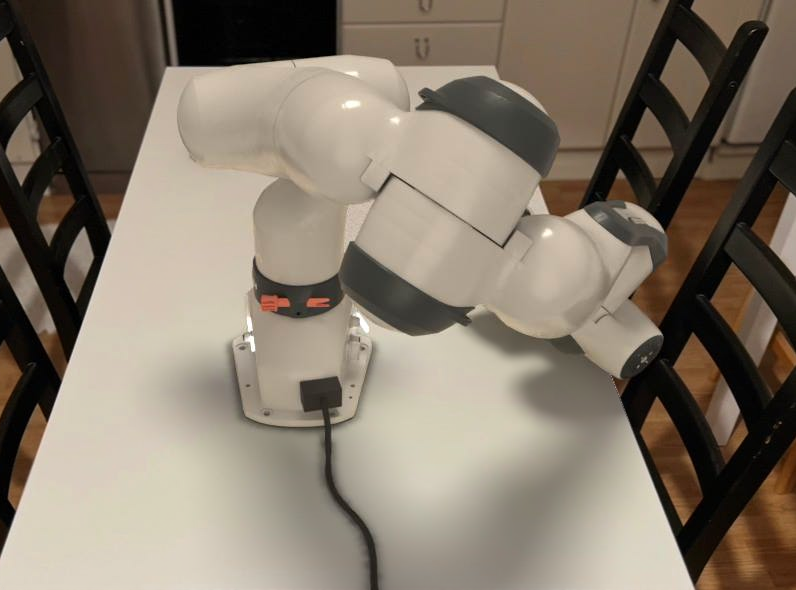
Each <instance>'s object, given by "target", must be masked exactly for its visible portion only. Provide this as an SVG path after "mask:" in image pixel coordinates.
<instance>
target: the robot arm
mask: <svg viewBox="0 0 796 590" xmlns="http://www.w3.org/2000/svg"><path fill="white" fill-rule="evenodd" d="M417 95H418V96H419V98H420V99H421V100H422V101H423V102H422V103H420V104H419V105H417V106H415V107H414V110H411V97H410V91H409V88H408V84H407V82H406V80H405V78H404V76H403V75H402V73H401V71H400V70H399V69H398V68H397V67H396V65H395V64H394V63H393V62H392V61H390V60H389V59H387V58H381V57H374V56H365V55H356V54H355V55H353V54H340V55H339V54H338V55H329V56H319V57H318V56H317V57H309V58H297V59H287V60H276V61H266V62H256V63H246V64H235V65H230V66H227V67H224V68H223V67H222V68H219V69H216V70H212V71H209V72H206V73H203V74H200V75H197V76H194V77H191V79H190V80H189V81H188V82H187V84H186V85H185V87H184V88H183V91H182V93H181V94H180V98H179V102H178V104H177V105H178V106H177V111H176V112H177V113H176V116H177V117H176V121H177V128H178V134H179V136H180V139H181V142H182V144H183V146H184V148H185V149H186V151H187V153H188V154H189V155H190V156H191V158H192V159H193V160H194V161H196V162H197V164H199V165H200V166H201V167H203V168H205V169H214V170H225V171H236V172H237V171H238V172H245V173H246V172H247V173H252V174H257V175H262V176H266V177H270V178H271V177H272V178H276V180H274V181H273V182H271V183H270V184H268V185H267V186H265V188H264V189H263V190H262V192H261V193H260V194H259V196H258V198H257V200H256V202H255V204H254V207H253V210H252V229H253V242H254V243H253V245H254V256H253V257H252V258H253V259H252V267H251V279H252V285H253V286H252V287H251V289H249V290H248V291H247V292H246V293H245V294H244V308H245V322H246V331H245V332H243V334H241V335H238V336H237V337H235V338H234V339H233V340H232V353H233V360H234V365H235V370H236V371H235V372H236V375H237V376H236V377H237V382H238V388H239V394H240V398H241V405H242V410H243V414H244V416H245V417H246V418H248V419H250V420H252V421H255V422H257V423H260V424H265V425H268V426H269V425H270V426H276V427H285V428H286V427H291V428H309V427H311V428H313V427H322V426H324V452H325V464H324V473H325V479H326V483H327V486H328V489H329V491H330V493H331V495H332V497H333V499H334V500H335V502H336V503H337V505H338V506H339V507H340V508H341V509H342V510H343V511H344V513H346V514H347V515H348V516H349V517H350V518H351V519H352V521H353V522H355V524H356V525H357V526H358V528H359V529H360V531H361V532H362V534H363V537H364V539H365V542H366V545H367V550H368V555H369V575H370V576H369V578H370V579H369V580H370V590H379V579H378V578H379V577H378V556H377V549H376V546H375V541H374V539H373V537H372V534H371V531H370V530H369V528H368V526H367V524H366V523H365V522H364V520H363V519H362V517H361V516H360V515H359V514H358V513H357V512H356V511H355V510H354V509H353V508H352V507H351V506H350V505H349V504H348V503H347V502H346V501H345V499H344V498H343V497H342V496H341V494H340V492H339V491H338V489H337V487H336V484H335V481H334V477H333V471H332V452H333V451H332V447H333V446H332V425H334V424H335V425H336V424H338V423H341V422H344V421H347V420H349V419H351V418H353V417H354V416H355V415H356V412H357V408H358V404H359V400H360V396H361V392H362V389H363V387H364V385H363V384H364V381H365V378H366V374H367V371H368V366H369V362H370V359H371V355H372V352H373V342H372V340H371V338H369V337H368V336H366V335H364V334H361V333H359V328H360V325H361V327H362V328H363V330H364V331H365V333H368V332H369V326H368V324H367V323H366V321H365V320H364V319H363V317H362V316H364V318H366V319H367V320H368V321H370V322H371V323H373V324H374V325H376V326H378V327H379V328H382V329H384V330H387V331H390V332H394V333H399V334H405V335H407V336H410V337H421V336H428V335H434V334H439V333H441V332H443V331H445V330H447V329H449V328H451V327H452V326H454V325H456V324H459V325H461V326H463V327H466V328H467V327H468V326H470V325H471V324H473V320H472V319H471V318H470V317H469V316H468V314H469V313H470V312H472V311H473V310H474V311H475V310H476V307H477V306H480V305H482V306H483V307H484V308H486V310H488V311H490V312H492V313H494V314H495V316H496V317H498V319H499V320H500V321H502V322H503V324H504V325H505V326H507V327H508V328H511V329H512V330H514V331H516V332H519V333H521V334H524V335H526V336H529V337H533V338H538V339H546V340H548V342H549V343H550V344H551V345H552V346H553V347H554V349H555V350H557V351H558V352H559V353H561V354H564V355H571V356H585V357H586V358H587V359H588V360H590V361H591V363H594V364H595V365H596V366H598V367H599V368H600V369H602V370H603V371H605V372H607V373H608V374H609V375H611V376H613V377H615V378H616V379H618V380H621V381H623V380H625V381H626V380H628V379H631V378H634V377H635V376H637V375H638V374H640V373H642V372H643V371H644V370H645V369H646V368H647V367H648V366H649V365H650V364H651V363H652V362H653V360H654V359H655V358H656V357H657V356H658V354H659V352H660V351H661V349H662V346H663V343H664V335H663V333H662V331H661V330H660V329H659V328H658V326H657V325H656V324H655V323H654V322H653V320H651V318H650V317H649V316H648V315H647V314H646V313H645V312H644V311H642V309H641V308H640V307H639V306H637V305H636V304H635V303H634V302H633V301H632V300H631V299H629V297H631V295H632V294H633V293H634V292H635V291H636V290H637V289H638V288H639V286H641V284H642V283H643V282H644V281H645V280H646V279H647V278H648V277H649V276H650V275H652V274H653V273H654V272H655V271H656V270H657V269H658V268H659V267H660V266H661V265H663V263H664V262H666V260H667V259H668V254H669V253H668V252H669V240H668V235H667V234H666V232H665V230H664V228H663V227H662V224H661V223H660V222H659V221H658V220H657V219H656V218H655V217H654V216H653V215H652V214H651V213H650V212H649V211H647V210H646V209H644V208H643V207H641V206H639V205H637V204H635V203H632V202H630V201H625V200H623V199H613V200H608V201H595V202H592V203H589V204H587V205H585V206H583V208H581V209H578V210H575V211H573V212H570V213H569V214H566V215H564V216H558V215H554V214H547V213H541V214H540V213H539V214H538V213H537V214H535V213H534V215H529V216H525V217H522V218H521V216H522V215H523V213H524V211H525V209H526V207H527V206H528V207H529V204H530V202H531V200H532V198H533V196H534V194H535V192H536V191H537V189H538V186H539V184H540V182H541V180H545V179H547V178H548V176H549V174H550V171H551V169H552V167H553V165H554V162H555V161H556V158H557V155H558V152H559V149H560V148H559V147H560V144H561V140H562V139H561V136H560V133H559V128H558V126H557V124H556V123H555V121H554V120H553V119H552V118H551V117H550V115H549V114H548V112H547V111H546V109H545V107H544V106H543V105H542V103H540V101H539V100H538V99H537V98H536V97H535V96H533V95H532V94H531V93H530V92H529V91H527V90H526V89H524V88H523V87H522V86H521V87H520V86H518V85H517V84H515V83H512V82H510V81H507V80H501V79H498V78H491V77H489V76H486V75H474V76H473V75H472V76H467V77H462V78H456V79H453V80H451V81H450V82H447V83H446V84H444V85H442V86H440V87H439V88H437V89H436V90H433V89H431V88H429V87H425V86H424V87H423V88H421V89H420V90H419V91H418V92H417ZM371 201H373V202H372V204H371V205H370V207H369V209H368V212H367V214H366V215H365V218H364V220H363V222H362V224H361V225H360V228H359V230H358V233H357V235H356V237H355V239H354V240H350V241H349V242H348V245H347V247H346V248H345V238H346V237H345V235H346V223H347V214H348V209H349V206H356V205H363V204H366V203H369V202H371ZM361 315H362V316H361Z"/></svg>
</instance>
